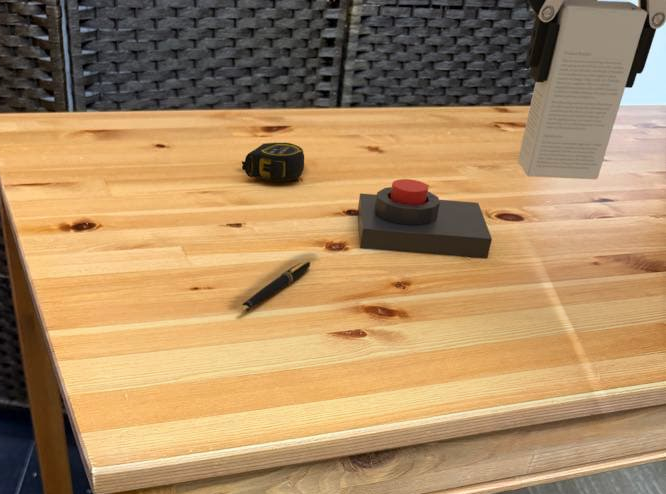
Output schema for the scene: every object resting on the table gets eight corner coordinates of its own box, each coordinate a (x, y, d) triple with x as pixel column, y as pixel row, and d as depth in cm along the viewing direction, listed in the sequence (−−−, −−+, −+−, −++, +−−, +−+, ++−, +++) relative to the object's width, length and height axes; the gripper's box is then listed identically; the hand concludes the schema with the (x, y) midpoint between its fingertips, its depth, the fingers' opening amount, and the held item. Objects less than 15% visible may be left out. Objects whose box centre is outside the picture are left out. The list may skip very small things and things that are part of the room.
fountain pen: (241, 321, 75) (242, 306, 74) (230, 317, 75) (231, 302, 74) (314, 269, 84) (315, 255, 83) (304, 266, 85) (305, 252, 84)
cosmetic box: (584, 164, 70) (632, 1, 62) (597, 181, 67) (650, 11, 59) (514, 160, 70) (553, -4, 62) (524, 177, 67) (567, 6, 59)
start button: (423, 196, 92) (426, 180, 91) (427, 209, 89) (430, 192, 88) (388, 193, 92) (391, 177, 91) (390, 206, 89) (393, 189, 88)
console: (474, 221, 97) (481, 186, 95) (487, 258, 89) (496, 222, 86) (357, 212, 97) (362, 177, 95) (359, 248, 89) (365, 211, 87)
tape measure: (262, 166, 108) (264, 136, 105) (310, 176, 106) (313, 145, 104) (241, 181, 103) (242, 150, 101) (290, 191, 101) (292, 160, 99)
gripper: (775, -224, 55) (673, 75, 67) (519, -238, 55) (464, 63, 67) (827, -227, 49) (705, 100, 61) (542, -243, 50) (477, 86, 62)
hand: (580, 78), depth 64 cm, fingers closed on cosmetic box, 6 cm apart
